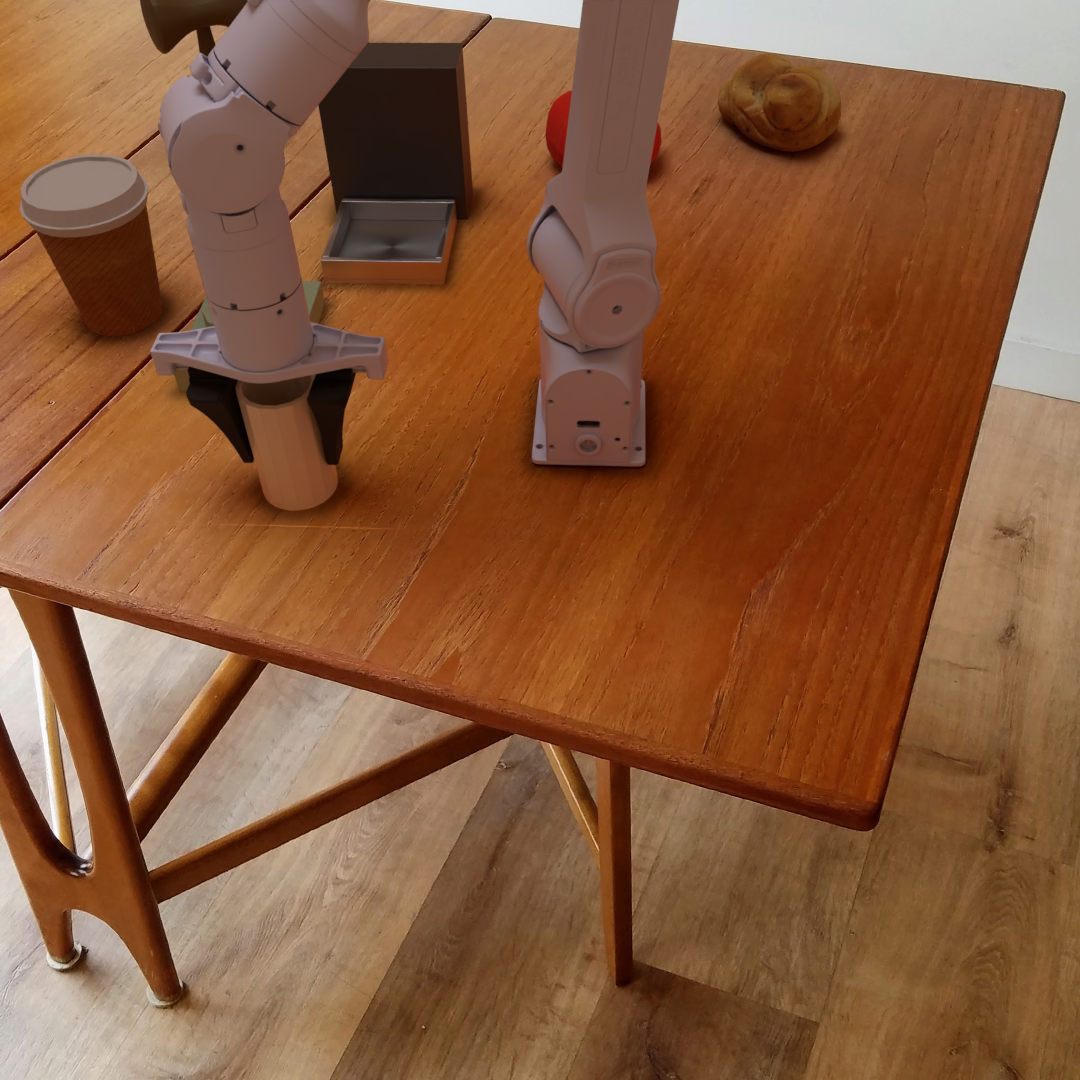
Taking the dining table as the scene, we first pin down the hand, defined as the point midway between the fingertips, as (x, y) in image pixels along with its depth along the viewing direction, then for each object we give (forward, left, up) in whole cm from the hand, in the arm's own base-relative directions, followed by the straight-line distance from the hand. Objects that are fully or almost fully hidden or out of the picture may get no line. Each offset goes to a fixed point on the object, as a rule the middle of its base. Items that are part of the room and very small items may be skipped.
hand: (293, 454), depth 78 cm
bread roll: (+53, -37, -3) cm, 65 cm away
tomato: (+46, -20, -3) cm, 50 cm away
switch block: (+16, +7, -3) cm, 18 cm away
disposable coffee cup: (+20, +19, -3) cm, 28 cm away
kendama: (+48, +17, -3) cm, 51 cm away
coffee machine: (+38, -2, -3) cm, 38 cm away
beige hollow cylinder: (0, 0, -3) cm, 3 cm away
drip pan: (+30, -2, -3) cm, 30 cm away
